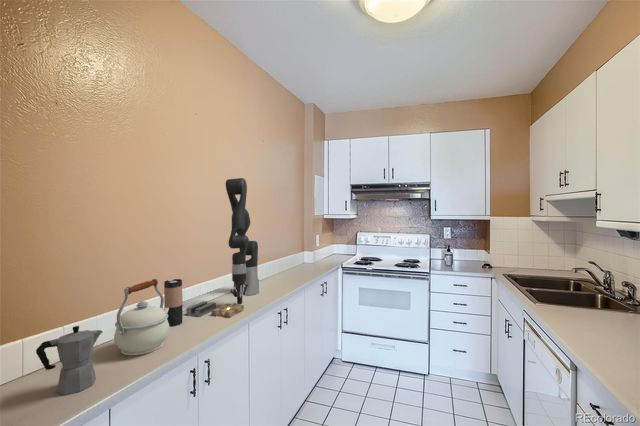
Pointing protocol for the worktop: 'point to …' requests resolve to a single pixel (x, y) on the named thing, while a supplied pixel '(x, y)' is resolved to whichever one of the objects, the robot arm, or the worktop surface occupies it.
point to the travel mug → (173, 301)
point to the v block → (200, 309)
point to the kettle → (141, 324)
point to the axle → (227, 309)
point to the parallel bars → (228, 313)
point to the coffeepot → (73, 359)
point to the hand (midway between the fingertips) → (239, 303)
